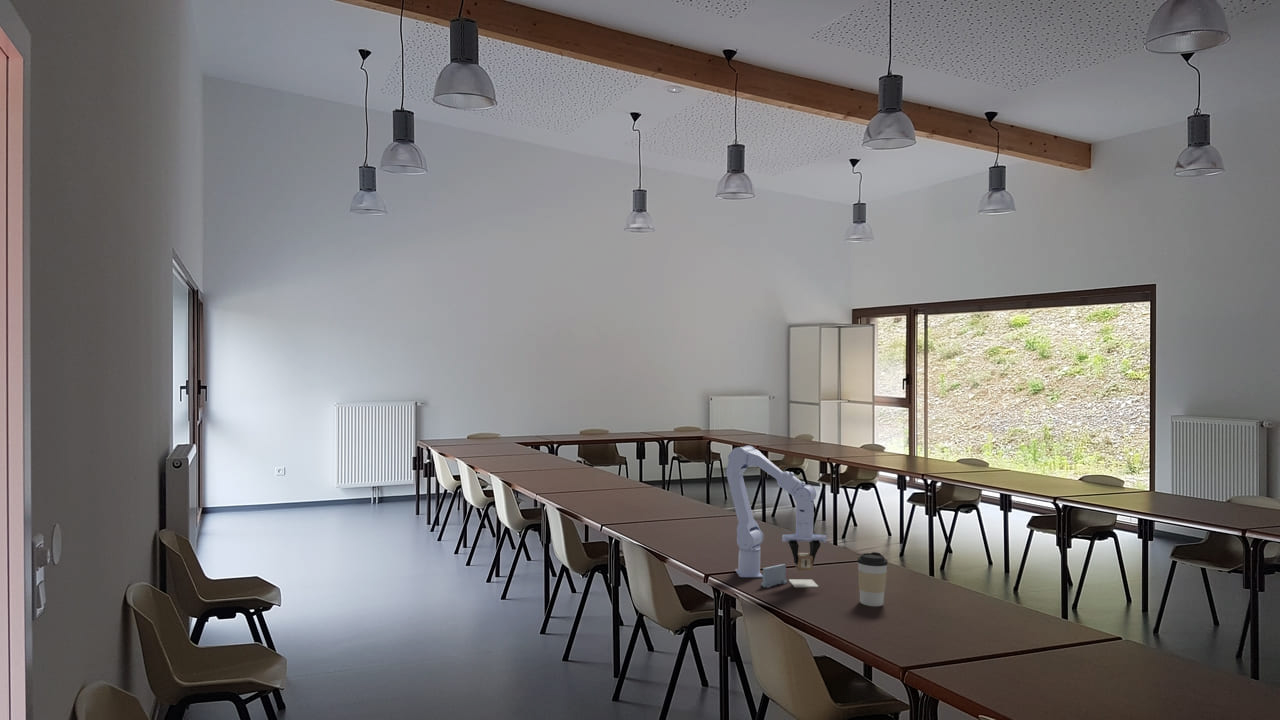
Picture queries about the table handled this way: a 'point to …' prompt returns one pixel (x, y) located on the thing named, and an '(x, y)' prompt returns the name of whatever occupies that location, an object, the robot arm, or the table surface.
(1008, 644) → the table surface
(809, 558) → the letter cube
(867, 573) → the coffee cup
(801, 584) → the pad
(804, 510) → the robot arm
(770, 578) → the screen
